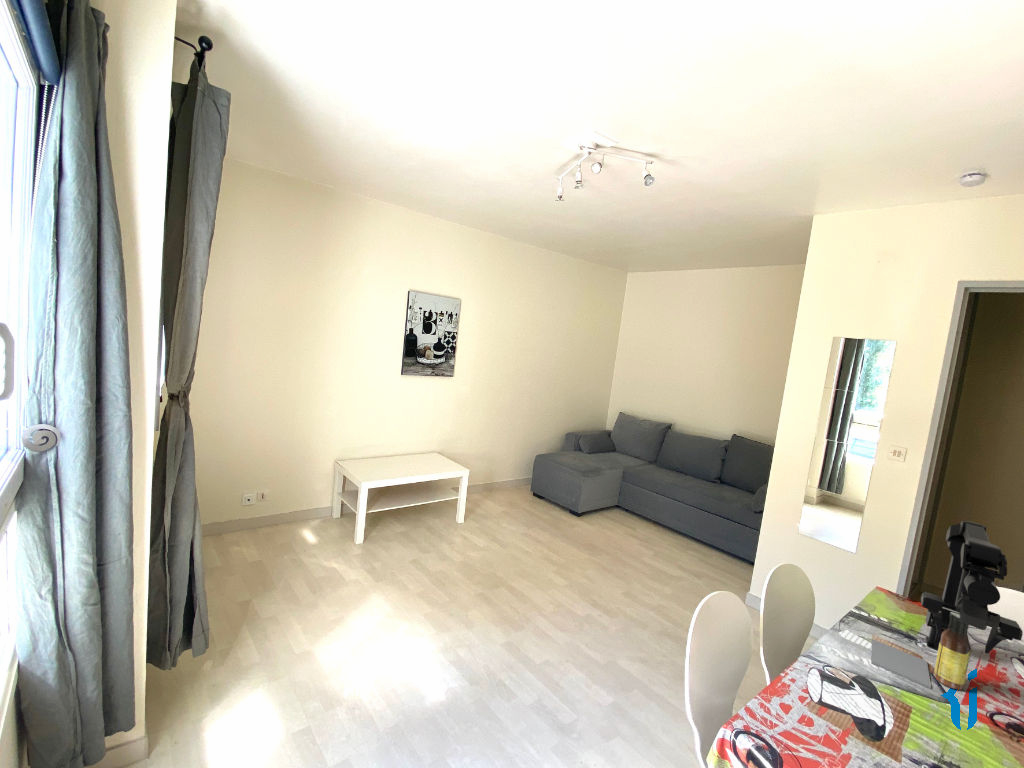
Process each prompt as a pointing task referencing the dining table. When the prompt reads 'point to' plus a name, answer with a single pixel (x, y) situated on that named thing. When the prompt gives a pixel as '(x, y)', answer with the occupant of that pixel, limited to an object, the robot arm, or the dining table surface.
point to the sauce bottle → (953, 654)
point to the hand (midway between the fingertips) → (961, 644)
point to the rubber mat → (900, 663)
